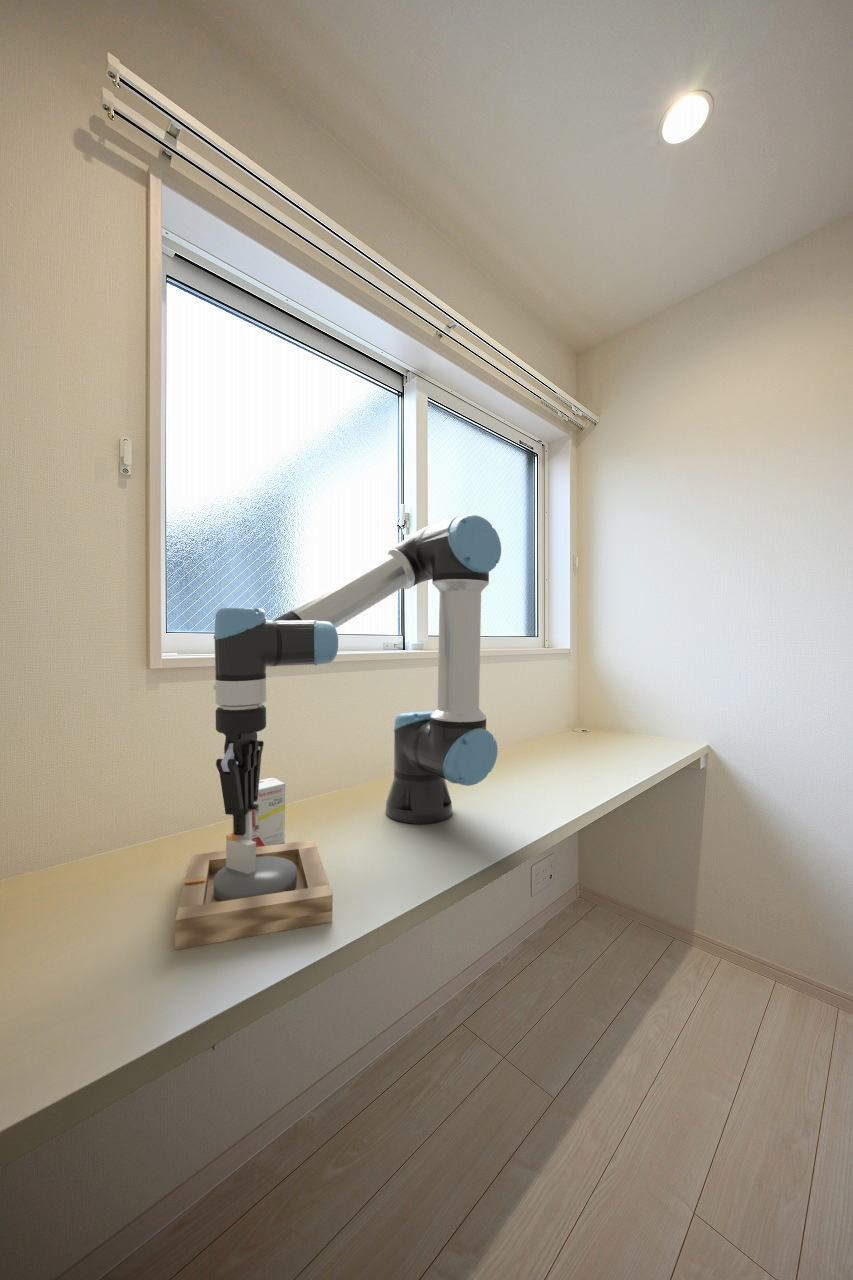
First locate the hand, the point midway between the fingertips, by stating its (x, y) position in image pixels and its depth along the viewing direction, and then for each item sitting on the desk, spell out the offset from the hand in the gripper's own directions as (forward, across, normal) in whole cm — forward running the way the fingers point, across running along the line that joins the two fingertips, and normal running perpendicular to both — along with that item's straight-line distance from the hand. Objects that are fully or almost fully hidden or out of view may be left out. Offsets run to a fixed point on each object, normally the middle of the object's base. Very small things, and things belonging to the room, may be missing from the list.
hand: (242, 852), depth 81 cm
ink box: (+6, -15, -3) cm, 17 cm away
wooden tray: (+5, +4, +4) cm, 7 cm away
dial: (+4, +4, +4) cm, 6 cm away
